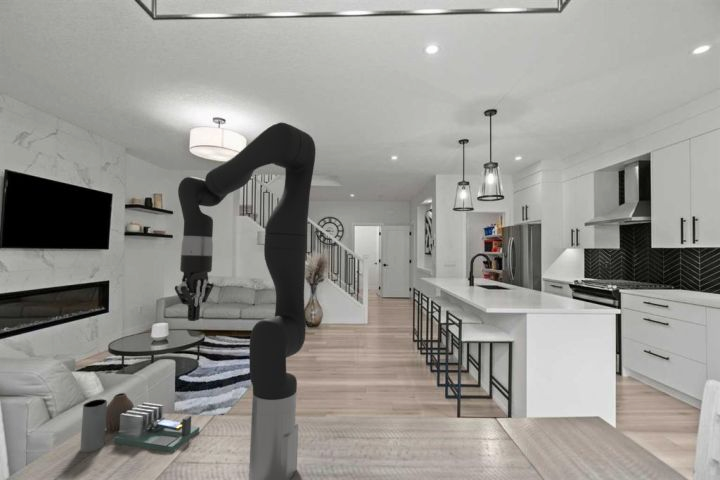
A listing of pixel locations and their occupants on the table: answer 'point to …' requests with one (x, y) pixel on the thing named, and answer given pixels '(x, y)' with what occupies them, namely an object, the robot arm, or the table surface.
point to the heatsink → (140, 420)
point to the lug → (186, 425)
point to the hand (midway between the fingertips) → (193, 320)
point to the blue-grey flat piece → (167, 424)
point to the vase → (117, 411)
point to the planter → (93, 425)
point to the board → (159, 439)
